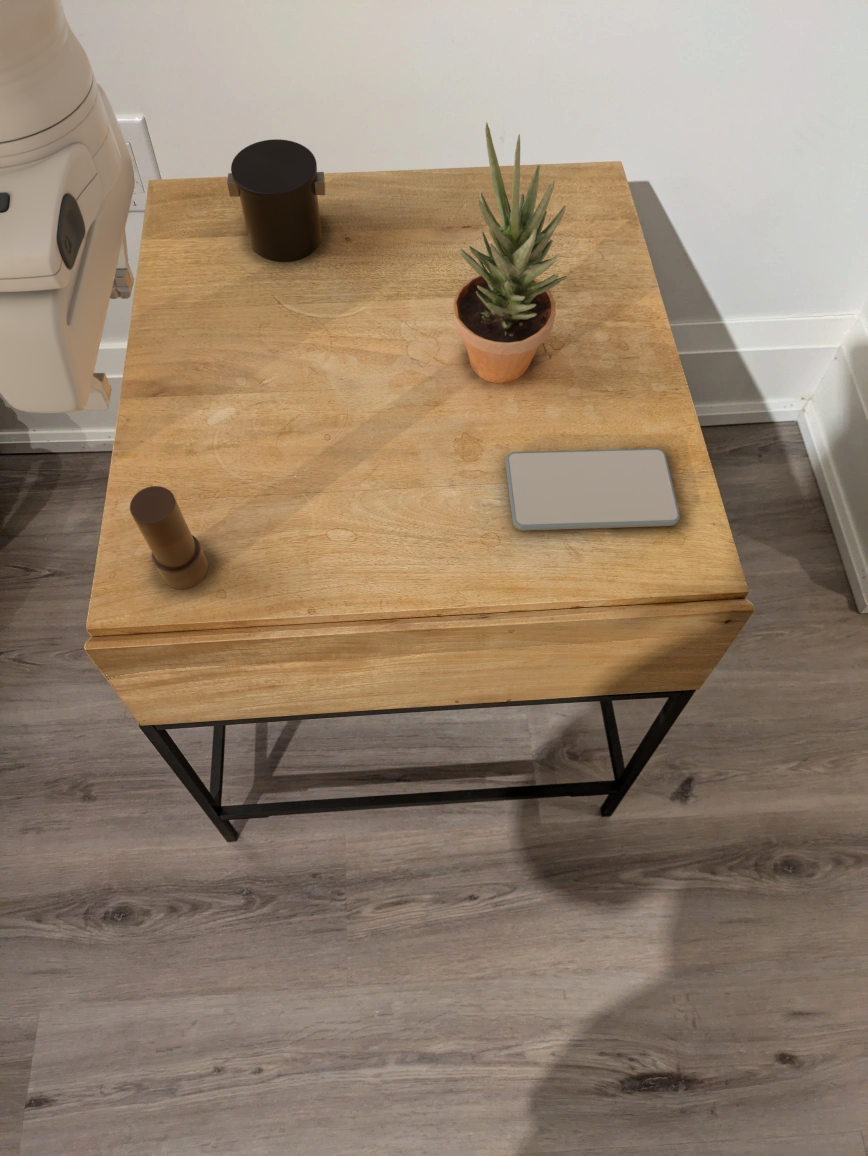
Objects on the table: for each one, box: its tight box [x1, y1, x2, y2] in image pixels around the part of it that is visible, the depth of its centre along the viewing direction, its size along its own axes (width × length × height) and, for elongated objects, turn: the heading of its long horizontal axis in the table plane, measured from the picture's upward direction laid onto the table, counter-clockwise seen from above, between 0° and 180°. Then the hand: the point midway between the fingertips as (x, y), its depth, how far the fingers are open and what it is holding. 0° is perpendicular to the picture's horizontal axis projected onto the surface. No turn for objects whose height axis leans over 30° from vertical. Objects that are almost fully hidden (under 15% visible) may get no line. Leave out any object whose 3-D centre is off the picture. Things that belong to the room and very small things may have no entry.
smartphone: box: [504, 447, 681, 531], centre depth 77 cm, size 8×1×15 cm
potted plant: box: [453, 121, 568, 384], centre depth 74 cm, size 10×10×25 cm
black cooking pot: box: [226, 138, 326, 263], centre depth 89 cm, size 10×9×9 cm
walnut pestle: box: [129, 485, 209, 590], centre depth 68 cm, size 4×4×10 cm
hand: (109, 344), depth 54 cm, fingers open, 8 cm apart
